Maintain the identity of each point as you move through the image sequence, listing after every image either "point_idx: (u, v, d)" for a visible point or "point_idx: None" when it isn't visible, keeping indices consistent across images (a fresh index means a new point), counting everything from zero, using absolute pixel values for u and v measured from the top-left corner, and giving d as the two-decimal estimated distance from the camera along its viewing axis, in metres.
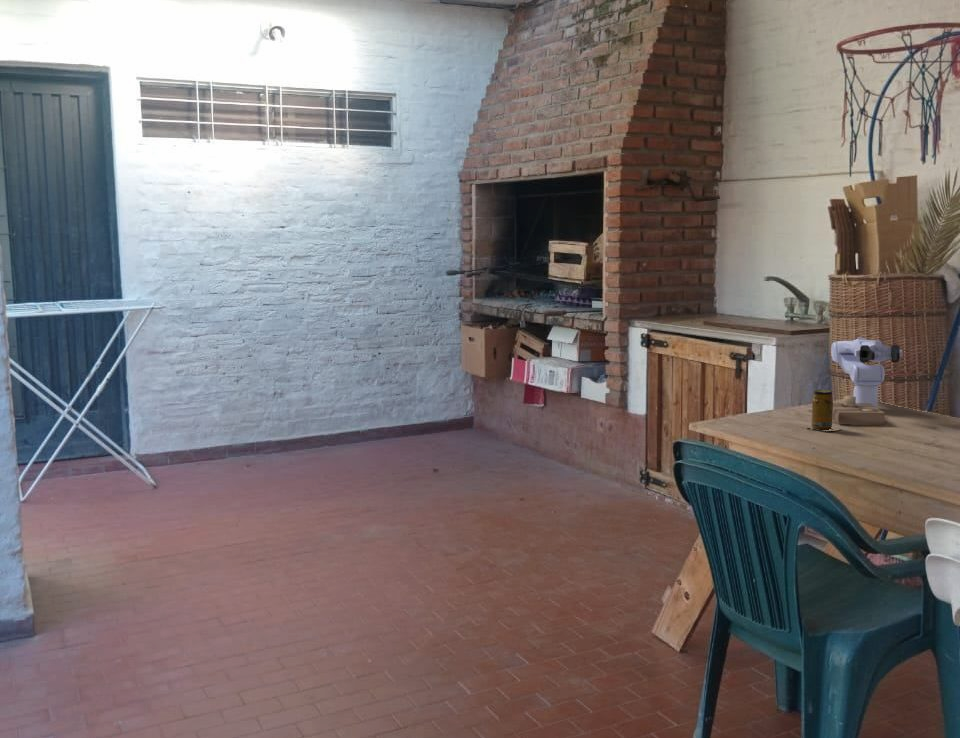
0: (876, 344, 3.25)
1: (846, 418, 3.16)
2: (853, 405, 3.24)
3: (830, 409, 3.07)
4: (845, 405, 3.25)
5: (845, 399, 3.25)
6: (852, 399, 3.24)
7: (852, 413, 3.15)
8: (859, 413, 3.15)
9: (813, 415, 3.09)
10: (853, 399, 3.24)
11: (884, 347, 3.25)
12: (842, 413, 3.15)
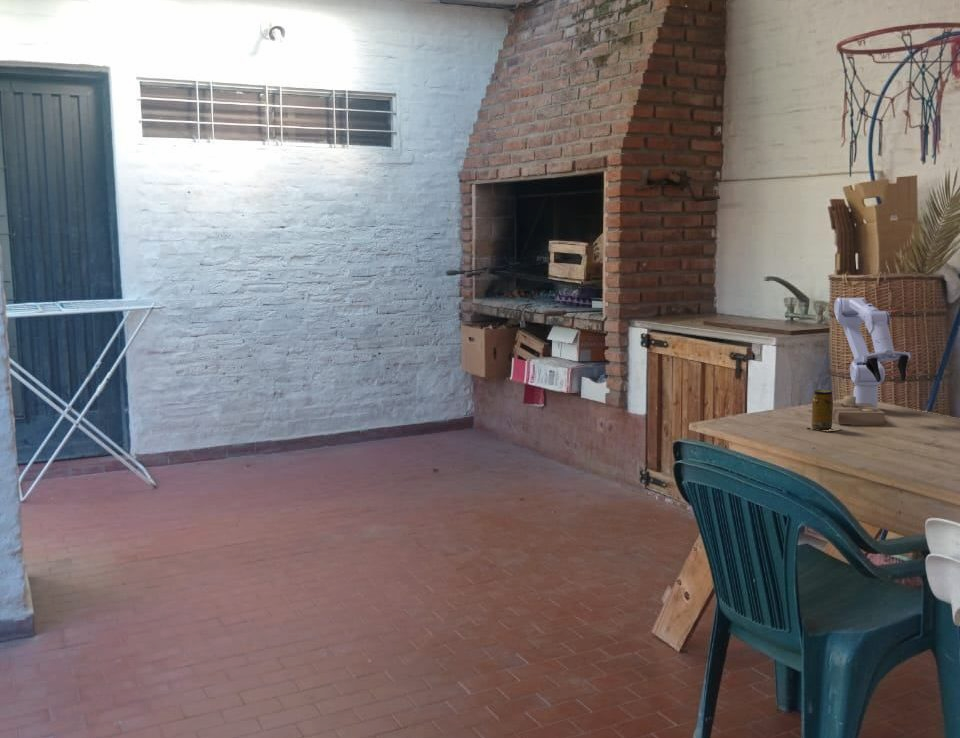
0: (886, 352, 3.19)
1: (846, 418, 3.16)
2: (853, 405, 3.24)
3: (830, 409, 3.07)
4: (845, 405, 3.25)
5: (845, 399, 3.25)
6: (852, 399, 3.24)
7: (852, 413, 3.15)
8: (859, 413, 3.15)
9: (813, 415, 3.09)
10: (853, 399, 3.24)
11: (893, 353, 3.19)
12: (842, 413, 3.15)
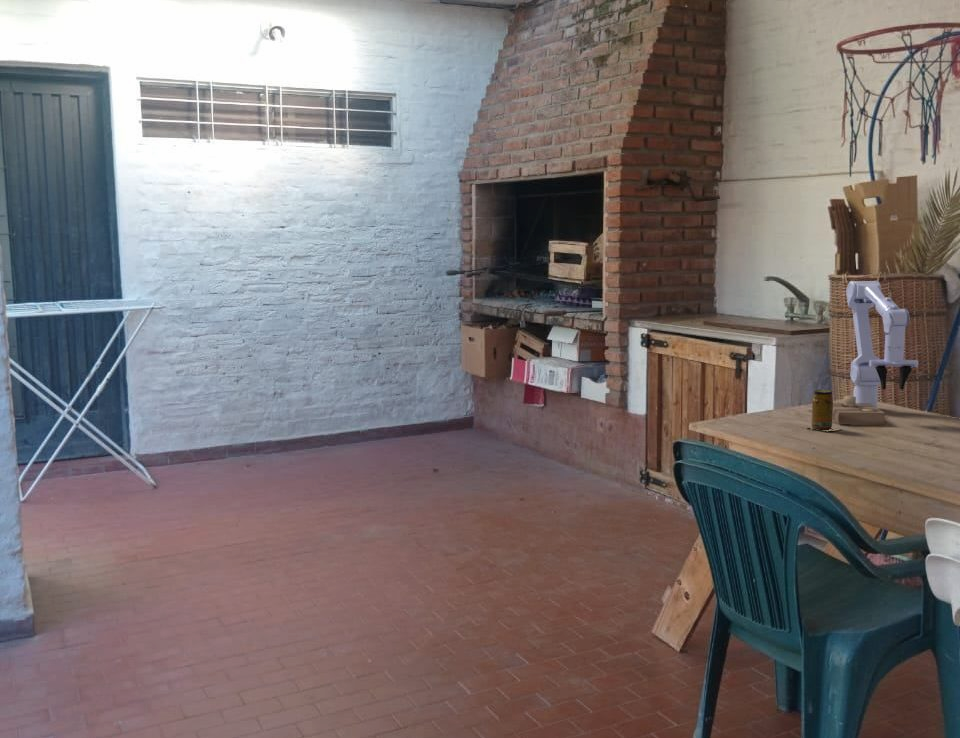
0: None
1: (846, 418, 3.16)
2: (853, 405, 3.24)
3: (830, 409, 3.07)
4: (845, 405, 3.25)
5: (845, 399, 3.25)
6: (852, 399, 3.24)
7: (852, 413, 3.15)
8: (859, 413, 3.15)
9: (813, 415, 3.09)
10: (853, 399, 3.24)
11: (901, 364, 3.16)
12: (842, 413, 3.15)
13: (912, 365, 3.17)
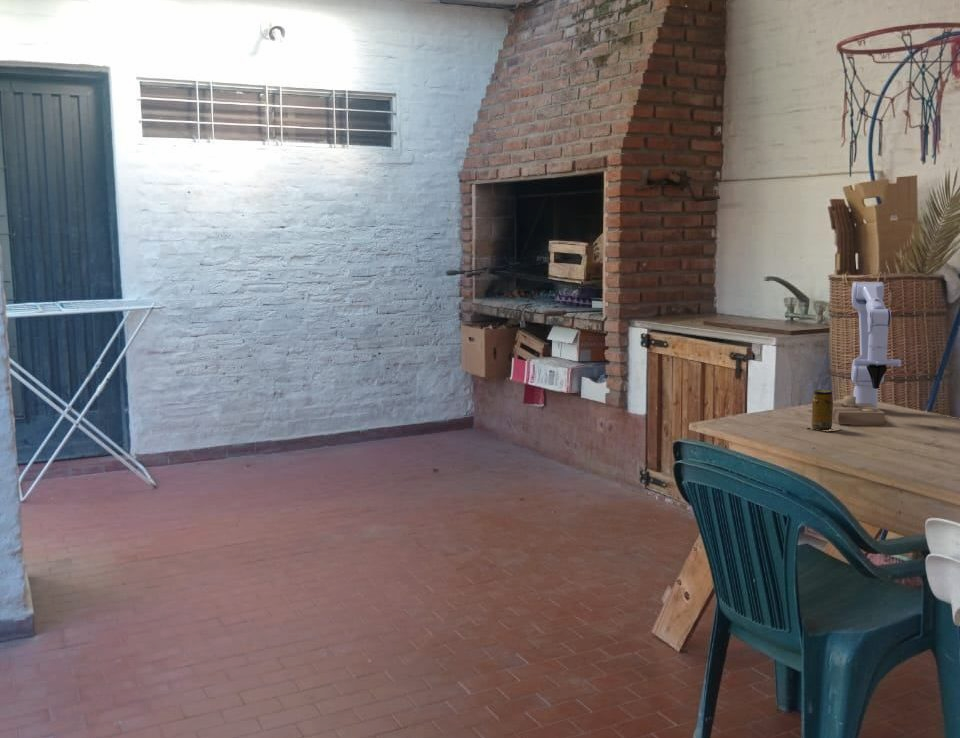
0: (877, 363, 3.18)
1: (846, 418, 3.16)
2: (853, 405, 3.24)
3: (830, 409, 3.07)
4: (845, 405, 3.25)
5: (845, 399, 3.25)
6: (852, 399, 3.24)
7: (852, 413, 3.15)
8: (859, 413, 3.15)
9: (813, 415, 3.09)
10: (853, 399, 3.24)
11: None
12: (842, 413, 3.15)
13: (895, 364, 3.20)
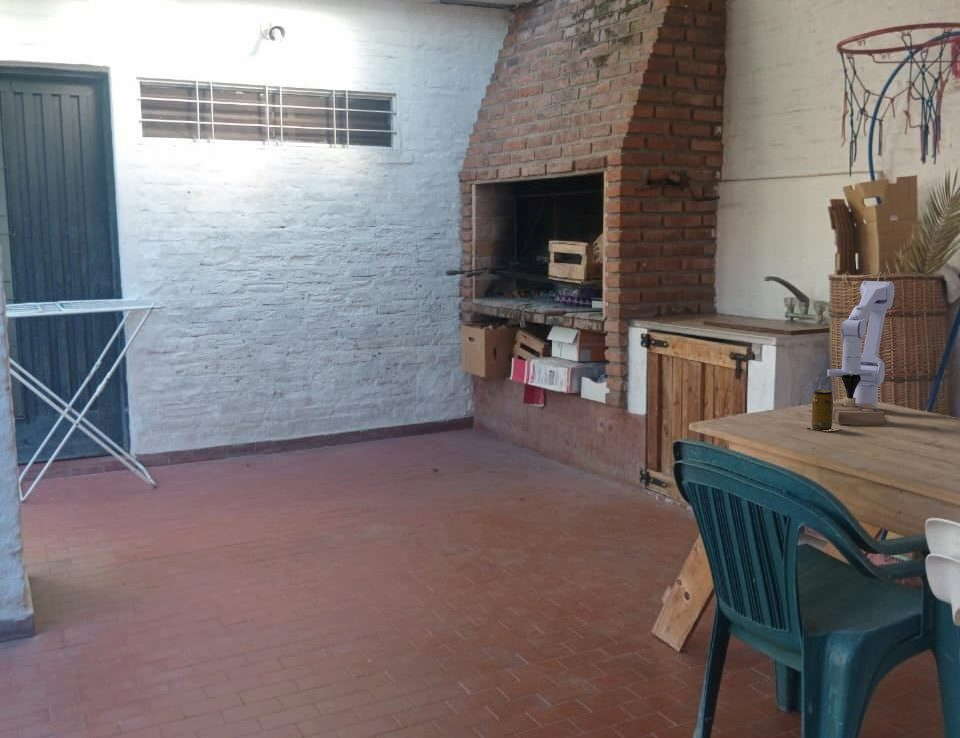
0: (851, 373, 3.21)
1: (846, 418, 3.16)
2: (853, 406, 3.24)
3: (830, 409, 3.07)
4: (845, 406, 3.25)
5: (845, 400, 3.25)
6: (852, 400, 3.24)
7: (852, 413, 3.15)
8: (859, 413, 3.15)
9: (813, 415, 3.09)
10: (853, 400, 3.24)
11: None
12: (842, 413, 3.15)
13: (869, 374, 3.23)
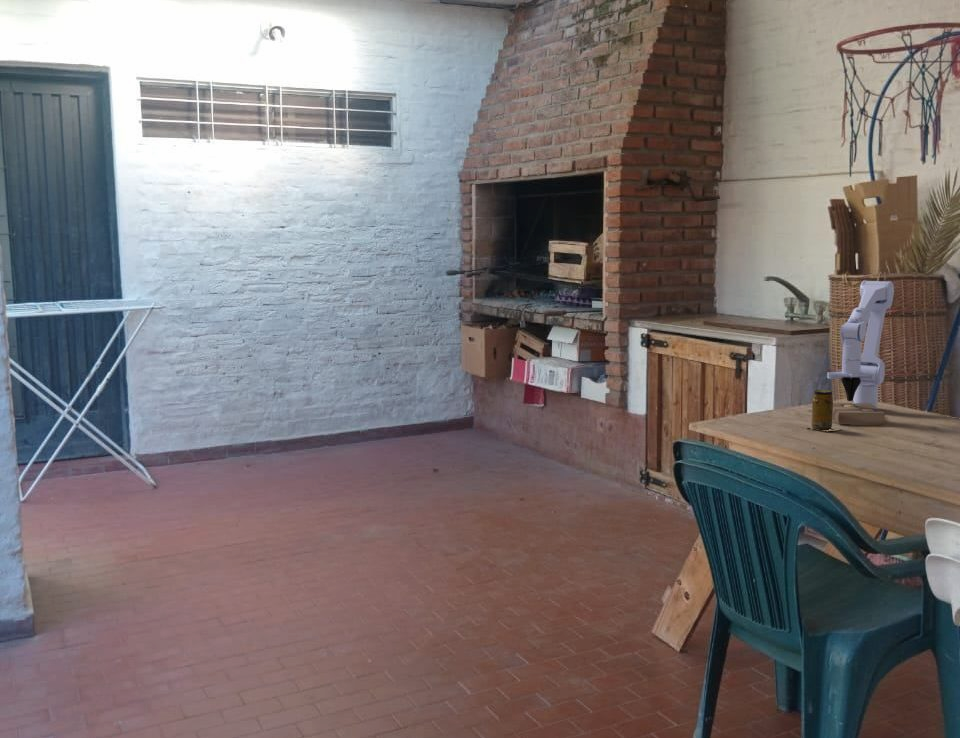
0: None
1: (846, 418, 3.16)
2: None
3: (830, 409, 3.07)
4: None
5: None
6: None
7: (852, 413, 3.15)
8: (859, 413, 3.15)
9: (813, 415, 3.09)
10: None
11: (858, 376, 3.22)
12: (842, 413, 3.15)
13: (869, 377, 3.23)
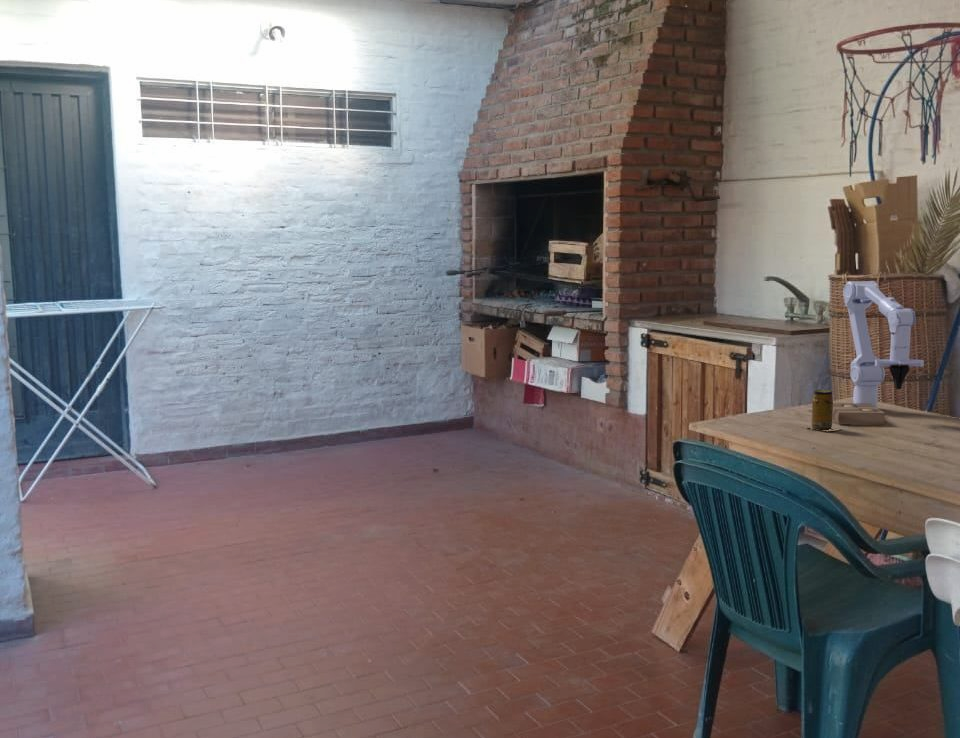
0: (899, 363, 3.16)
1: (846, 418, 3.16)
2: None
3: (830, 409, 3.07)
4: None
5: None
6: None
7: (852, 413, 3.15)
8: (859, 413, 3.15)
9: (813, 415, 3.09)
10: None
11: (907, 363, 3.17)
12: (842, 413, 3.15)
13: (918, 365, 3.18)
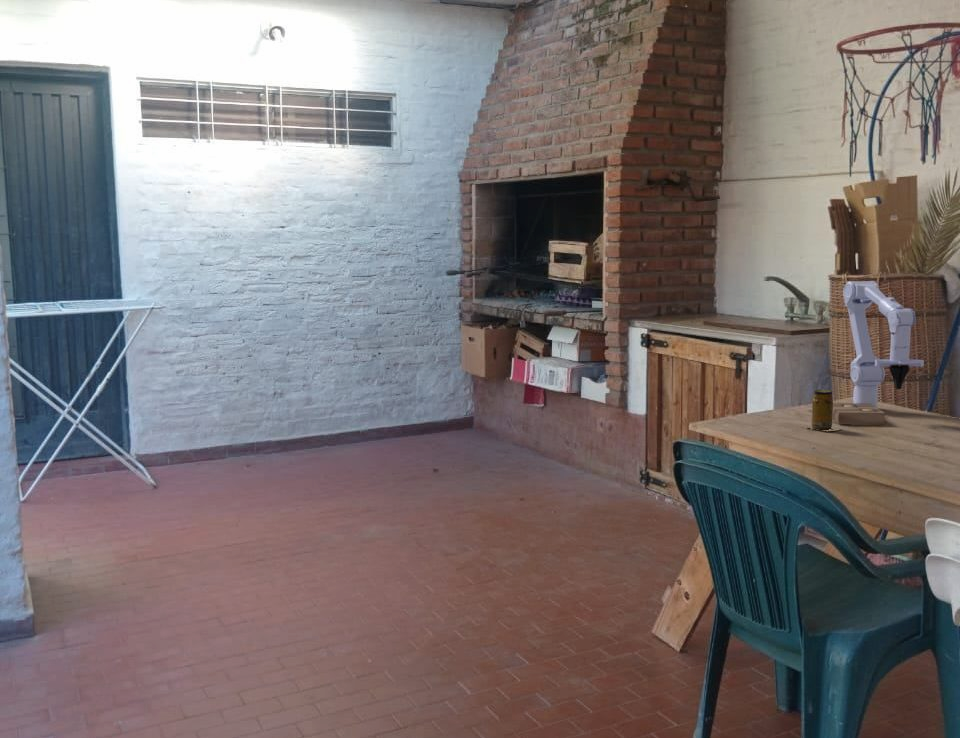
0: (899, 363, 3.16)
1: (846, 418, 3.16)
2: None
3: (830, 409, 3.07)
4: None
5: None
6: None
7: (852, 413, 3.15)
8: (859, 413, 3.15)
9: (813, 415, 3.09)
10: None
11: (907, 363, 3.17)
12: (842, 413, 3.15)
13: (918, 365, 3.18)
